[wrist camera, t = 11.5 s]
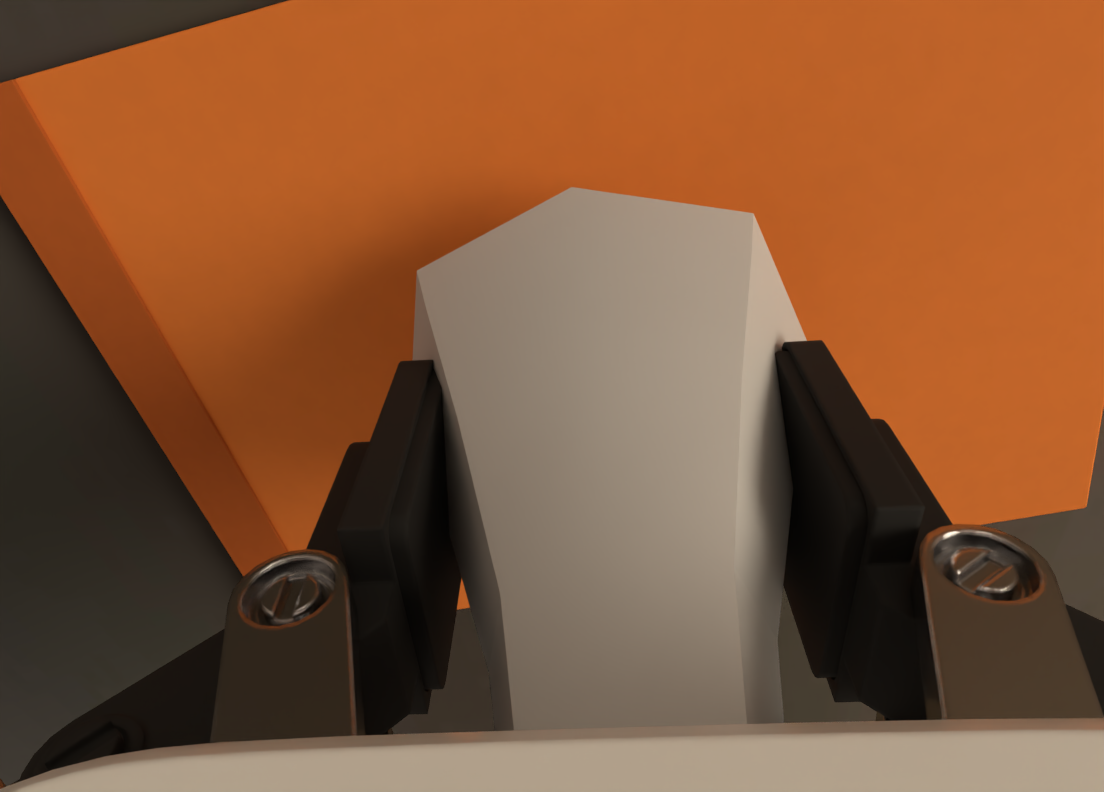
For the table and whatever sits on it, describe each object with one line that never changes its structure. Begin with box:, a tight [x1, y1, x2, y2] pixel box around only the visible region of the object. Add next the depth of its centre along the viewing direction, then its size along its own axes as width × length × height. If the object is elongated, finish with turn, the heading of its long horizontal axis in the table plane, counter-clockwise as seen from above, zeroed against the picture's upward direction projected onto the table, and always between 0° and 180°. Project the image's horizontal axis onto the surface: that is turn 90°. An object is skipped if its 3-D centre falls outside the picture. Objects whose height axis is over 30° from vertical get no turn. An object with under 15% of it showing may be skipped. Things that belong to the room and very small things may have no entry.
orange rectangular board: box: [0, 0, 1104, 610], centre depth 15 cm, size 14×20×1 cm
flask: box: [413, 187, 807, 731], centre depth 9 cm, size 7×7×10 cm
